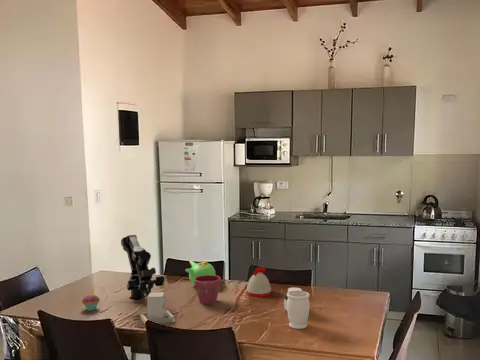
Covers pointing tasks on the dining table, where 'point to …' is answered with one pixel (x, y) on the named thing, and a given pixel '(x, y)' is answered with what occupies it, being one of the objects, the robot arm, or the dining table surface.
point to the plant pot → (207, 288)
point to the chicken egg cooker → (259, 284)
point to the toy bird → (200, 270)
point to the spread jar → (287, 297)
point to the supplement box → (156, 305)
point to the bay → (163, 320)
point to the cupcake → (91, 301)
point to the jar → (298, 309)
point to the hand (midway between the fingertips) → (149, 297)
